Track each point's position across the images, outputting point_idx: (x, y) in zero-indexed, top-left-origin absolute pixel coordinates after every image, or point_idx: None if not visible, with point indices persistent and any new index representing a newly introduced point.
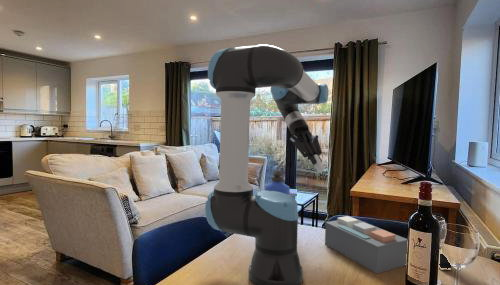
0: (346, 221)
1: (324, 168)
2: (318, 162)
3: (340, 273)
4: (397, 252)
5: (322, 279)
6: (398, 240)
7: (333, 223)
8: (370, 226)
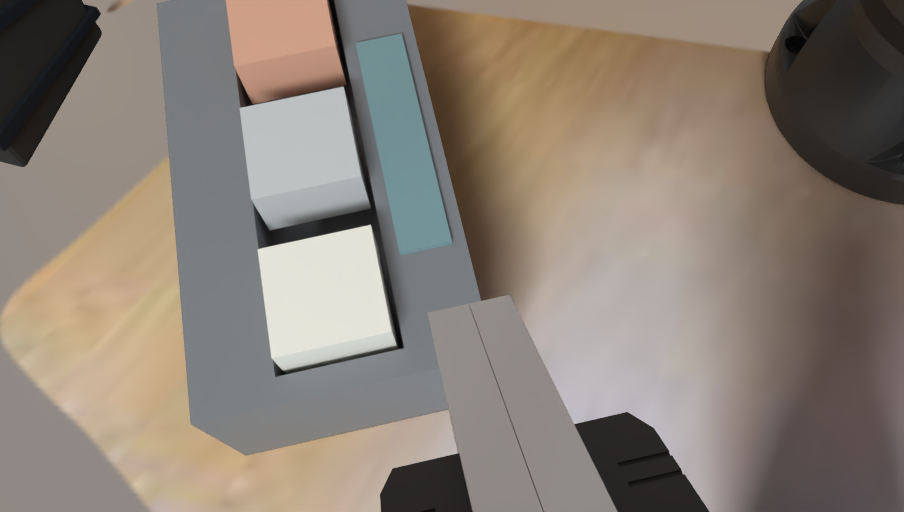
0: (372, 233)
1: (434, 317)
2: (541, 370)
3: (572, 75)
4: None
5: (677, 46)
6: (221, 2)
7: None
8: (268, 119)
